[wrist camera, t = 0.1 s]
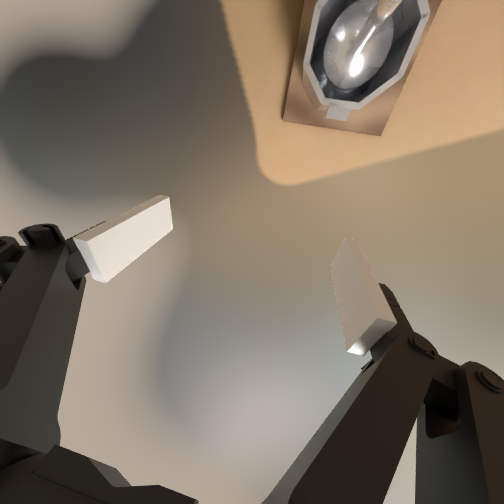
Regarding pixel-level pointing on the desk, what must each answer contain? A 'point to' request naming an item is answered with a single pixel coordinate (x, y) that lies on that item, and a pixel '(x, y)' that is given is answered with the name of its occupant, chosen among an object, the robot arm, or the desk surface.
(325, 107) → the grey faceted hollow container
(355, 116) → the board
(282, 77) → the desk surface
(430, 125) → the desk surface
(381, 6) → the plunger
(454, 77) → the desk surface
